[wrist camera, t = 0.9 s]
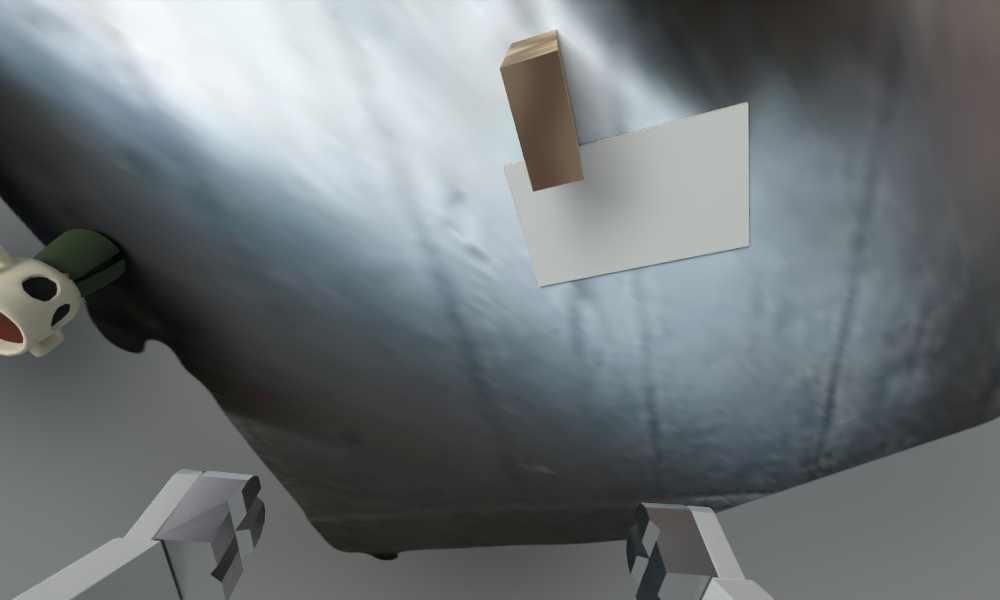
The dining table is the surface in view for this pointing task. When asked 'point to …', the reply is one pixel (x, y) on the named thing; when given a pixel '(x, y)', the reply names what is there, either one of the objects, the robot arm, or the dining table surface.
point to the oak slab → (542, 111)
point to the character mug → (51, 289)
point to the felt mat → (641, 199)
